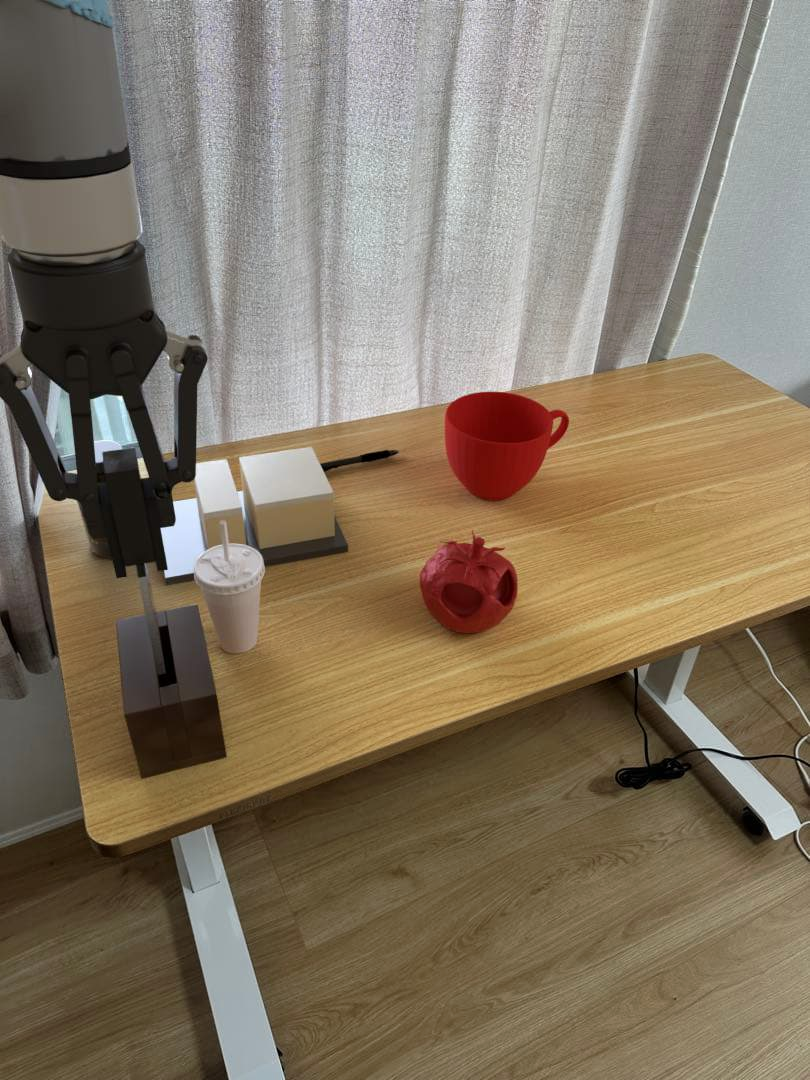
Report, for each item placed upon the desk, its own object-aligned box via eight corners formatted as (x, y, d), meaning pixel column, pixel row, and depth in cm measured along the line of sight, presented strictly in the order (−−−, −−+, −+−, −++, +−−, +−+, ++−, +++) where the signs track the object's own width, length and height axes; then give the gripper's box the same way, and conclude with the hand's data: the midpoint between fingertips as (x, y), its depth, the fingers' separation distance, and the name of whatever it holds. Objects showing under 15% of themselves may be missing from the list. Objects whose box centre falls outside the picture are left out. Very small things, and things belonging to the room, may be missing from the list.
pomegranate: (405, 589, 86) (408, 519, 80) (491, 572, 89) (500, 503, 83) (437, 653, 79) (443, 581, 73) (530, 633, 81) (542, 562, 76)
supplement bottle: (125, 517, 95) (106, 427, 87) (165, 538, 92) (148, 448, 84) (76, 545, 90) (51, 453, 83) (116, 569, 87) (93, 476, 80)
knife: (147, 677, 63) (105, 486, 52) (141, 626, 68) (100, 440, 57) (176, 671, 64) (140, 481, 53) (168, 621, 68) (133, 436, 57)
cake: (259, 549, 89) (255, 505, 85) (243, 499, 96) (238, 457, 93) (334, 536, 91) (333, 492, 88) (313, 488, 99) (311, 446, 95)
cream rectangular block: (210, 558, 88) (203, 513, 84) (197, 507, 95) (191, 464, 91) (246, 551, 89) (242, 507, 85) (231, 501, 96) (226, 458, 92)
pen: (299, 479, 102) (299, 472, 101) (295, 473, 103) (295, 465, 102) (401, 459, 106) (401, 452, 106) (396, 453, 108) (396, 445, 107)
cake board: (166, 585, 85) (164, 578, 85) (153, 511, 96) (152, 504, 95) (348, 551, 91) (348, 544, 90) (317, 485, 101) (317, 478, 101)
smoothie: (264, 612, 82) (254, 500, 74) (277, 656, 78) (267, 541, 69) (201, 624, 81) (182, 511, 72) (209, 669, 76) (190, 554, 67)
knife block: (141, 778, 66) (123, 714, 61) (131, 683, 74) (115, 619, 69) (226, 757, 68) (216, 693, 63) (208, 666, 76) (197, 603, 71)
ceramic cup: (588, 494, 102) (602, 424, 96) (472, 525, 95) (479, 453, 89) (531, 445, 111) (541, 378, 105) (422, 471, 105) (426, 402, 99)
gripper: (202, 217, 51) (234, 518, 65) (-66, 231, 47) (32, 550, 61) (221, 255, 45) (252, 575, 60) (-82, 275, 41) (30, 615, 55)
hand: (140, 562), depth 60 cm, fingers closed on knife, 2 cm apart
